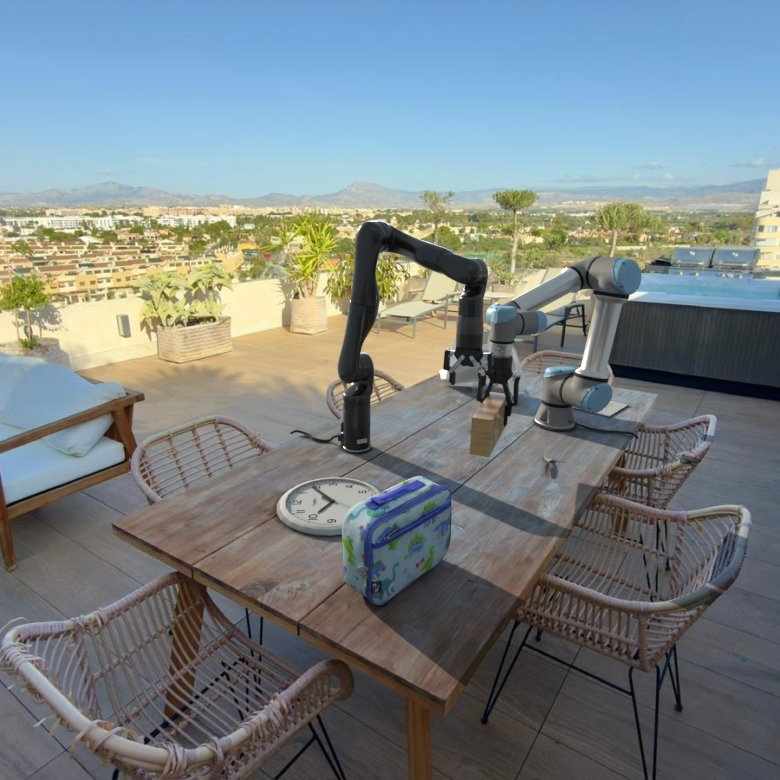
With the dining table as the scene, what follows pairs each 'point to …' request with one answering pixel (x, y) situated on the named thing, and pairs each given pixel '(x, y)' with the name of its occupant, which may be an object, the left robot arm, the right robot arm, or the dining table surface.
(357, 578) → the lunch box
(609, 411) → the invitation card
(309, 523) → the wall clock
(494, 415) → the box
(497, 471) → the dining table surface
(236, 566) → the dining table surface
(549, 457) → the fork
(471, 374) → the white plastic object
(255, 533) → the dining table surface
